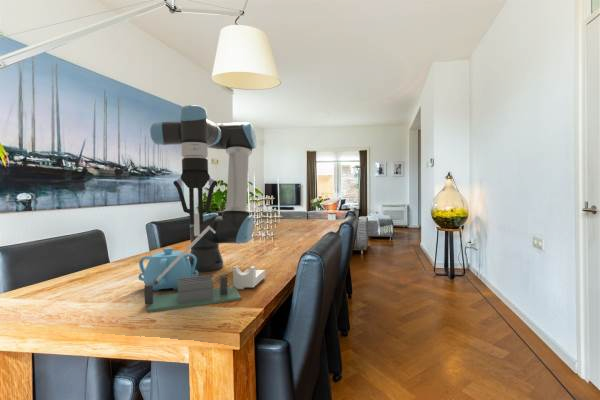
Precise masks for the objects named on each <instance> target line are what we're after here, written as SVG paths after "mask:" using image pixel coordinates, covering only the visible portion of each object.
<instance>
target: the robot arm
mask: <svg viewBox="0 0 600 400" xmlns="http://www.w3.org/2000/svg"><path fill="white" fill-rule="evenodd" d="M179 120H180V121H159V122H156V121H155V122H154V123H153V124H151V125H150V130H149V132H150V138H151V141H153V143H155V145H163V146H166V145H167V146H169V145H175V146H176V145H181V156H182V159H181V172H182V173H181V175H180V178H178V179H176V180H174V181H173V185H174V186H175V189H177V192H178V197H179V199H180V203H181V204H180V205H181V207H182V210H183V213H187V214H189V233H190V234H189V236H190V238H189V239H190V240H189V241H190V244H191V243H192V242H193V241H194V240H195V239H196V238H197V237H198V236H200V234H201V233H202V232H203V231H204V230H205V229H206V228H207V227H208V226H210V227H211V228H212V229H213V230H214V231H215V232H216V233H215V234H214V233H213V232H212V231H211V230H210V229H209V230H208V231H207V232H206V233H205V234H204V235H203V236H202V237H201V238H200V239H199V240H198V241H197V242H196V243H195V245H194V246H193V247H192V248H191V249H190V252H189V254H193V255H195V256H196V258H197V263H196V266H195V269H194V270H197V271H198V273H200V272H211V271H216V270H220V269H222V268H223V267H224V259H223V257H222V253H221V251H220V245H219V244H237V245H239V244H246V243H247V244H248V243H249V242H250V240H251V239H252V238H253V237H252V236H253V233H254V227H255V223H254V221H255V219H254V217H253V216H252V215H251V212H250V211H249V210H248V209H247V206H248V202H247V201H248V181H249V180H248V177H249V175H248V174H249V156H250V155H252V154H253V150H254V149H256V148H257V137H256V131H255V128H254V126H253V124H252V123H250V122H242V121H241V122H226V123H223V122H219V123H215V122H213V121H211V120H209V119H208V113H207V109H206V108H205V107H203V106H202V105H201V106H200V105H196V104H195V105H194V104H193V105H192V104H191V105H184V106H182V107H181V109H180V118H179ZM208 148H209V149H216V150H225V152H226V154H227V155H228V170H227V171H228V173H227V191H226V207H225V208H224V210H223V211H222V214H221V215H219V213H218V212H212V213H207V212H209V211H210V209H211V208H210V207H211V202H212V198H213V193H214V189H215V187H216V186H217V184H218V181H217V180H214V179H213V178H211V176H210V174H209V161H208V160H209V159H207V157H208ZM183 183H184V184H185V186H186V187H187V188H188V194H189V195H188V197H189V198H188V199H189V200H188V201H189V203H188V204H189V208H188V206H187V203H186V200H185V195H184V192H183V189H182V186H183ZM207 183H208V186H209V187H208V192H207V195H206V201H205V204H204V203H203V202H204V201H203V200H204V199H203V188H204V187H205V186H206V184H207ZM194 189H197V204H198V205H197V206H198V209H197V210H198V213H195V203H194V202H195V199H194V198H195V197H194V195H195V194H194V193H195V191H194ZM206 213H207V214H206ZM188 259H189V261H190V264H191V268H192V266H193V263H194V259H193V258H192V257H188Z"/></svg>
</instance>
